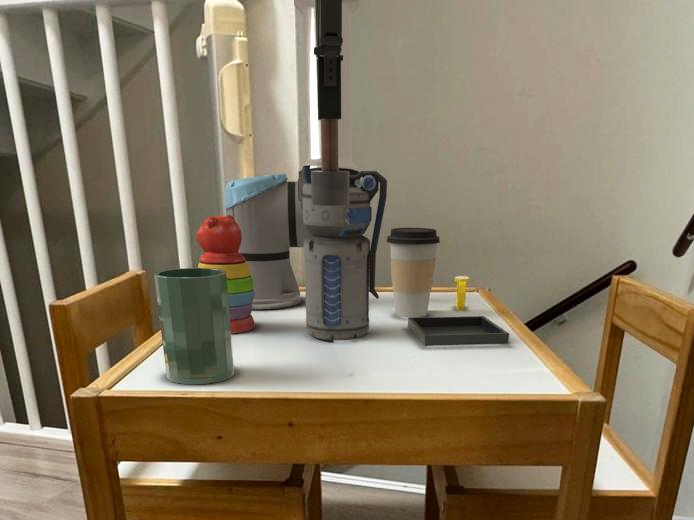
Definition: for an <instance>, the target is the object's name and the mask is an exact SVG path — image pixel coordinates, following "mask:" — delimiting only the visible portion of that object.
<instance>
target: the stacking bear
mask: <svg viewBox="0 0 694 520" xmlns="http://www.w3.org/2000/svg"><path fill="white" fill-rule="evenodd" d="M195 239H196V242H197V243H198V246H199V247H200V249H201V250H202V251H204V253H202V254H201V255H200V257H199V258H198V259H199V260H198V261H199V262H198V265H197V268H214V269H221V270H224V271H226V272H227V285H228V297H229V310H230V323H231V334H239V333H245V332H248V331H251V330H253V329H255V327H256V322H255V319H254V317H253V315H252V311H253V309H252V302H253V299H254V290H253V289H254V285H253V279H252V276H250V275H251V272H250V268H249V264H248V262H246V261H245V258H244V257H243V255H242V254H240V253H238V251H239V248H240V245H241V240H242V233H241V229H240V227H239V225H238V224H237V223H236V222H235V219H234V217H233V216H231V215H227V216H225V215H210V216H209V217H207V218H206V219H204V220H203V221H202V223H201V224H200V226H199V228H198V229H197V231H196V233H195Z"/></svg>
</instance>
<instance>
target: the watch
mask: <svg viewBox="0 0 694 520" xmlns="http://www.w3.org/2000/svg"><path fill="white" fill-rule="evenodd" d="M454 282H455V283H456V293H455V294H456V295H455V298H456V299H455V308H456V310H457V311H463V310H465V306H466V293H467V283H470V277H469V276H464V275H459V276H454Z"/></svg>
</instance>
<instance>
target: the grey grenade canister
mask: <svg viewBox="0 0 694 520" xmlns="http://www.w3.org/2000/svg"><path fill="white" fill-rule="evenodd" d="M302 166H303V165H302ZM361 178H362V180H361ZM358 179H360V180H361V181H362V185H361V187H357V186H356V185H355V181H356V180H358ZM297 181H298V200H299V201H301V208H302V209H303V224H304V225H305V227H306V228H307V230H308V232H309V233H310V234H311V236H309V237H307V238H306V239H305V240H304V247H303V254H304V257H303V258H304V288H305V290H304V291H305V316H306V317H305V326H306V327H305V328H306V331H307V332H308V333H309V335H310V336H311V337H314V338H316V339H319V340H321V341H329V342H334V341H342V340H353V339H358V338H363V337H364V336H366V335H367V333H368V331H369V328H370V315H369V314H370V313H369V311H370V309H369V308H370V294H371V295H372V296H373V297H374V298H375V299H376V300H379V298H380V296H379V294H378V292H377V290H376V265H377V264H376V263H377V260H376V259H377V249H378V245H379V239H380V234H381V229H382V223H383V220H384V219H383V218H384V213H385V207H386V204H387V203H386V201H387V196H388V195H387V194H388V193H387V192H388V179H387V178H385V177H384V176H383V175H382V174H381V173H380V172H378V171H377V170H360V172H359V173H358V174H356V175H349V205H340V206H324V205H312V192H311V176H310V165H305V166H303V168H302V170H301V173H300V176H299V175H298V178H297ZM377 193H379V194H378V195H379V197H378V202H377V209H376V214H375V220H374V226H373V231H372V238H371V240H370V239H369V238H368V237H367V236H365V235H364V234H365V233H366V231H367V230H368V229H369V227H370V225H371V222H372V221H373V220H372V219H373V218H372V217H373V214H372V211H373V208H372V206H371V202H372V200H373V198H374V197H375V196H376V195H377Z"/></svg>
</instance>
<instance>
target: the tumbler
mask: <svg viewBox="0 0 694 520" xmlns="http://www.w3.org/2000/svg"><path fill="white" fill-rule="evenodd" d="M153 277H154V278H153V279H154V286H155V293H156V302H157V308H158V310H157V311H158V319H159V327H160V333H161V341H162V343H161V344H162V350H163V351H162V352H163V359H164V366H165V372H166V377H167V379H168V380H169V381H170V382H172V383H176V384H182V385H209V384H216V383H220V382H224V381H227V380H229V379H232V377H233V376H234V375H235V363H234V350H233V348H234V347H233V337H232V335H233V334H232V333H231V323H230V310H229V297H228V285H227V272H226V271H224V270H221V269H214V268H198V267H183V268H182V267H180V268H179V267H178V268H169V269H162V270H158V271H156V272H155V273H153Z"/></svg>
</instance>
